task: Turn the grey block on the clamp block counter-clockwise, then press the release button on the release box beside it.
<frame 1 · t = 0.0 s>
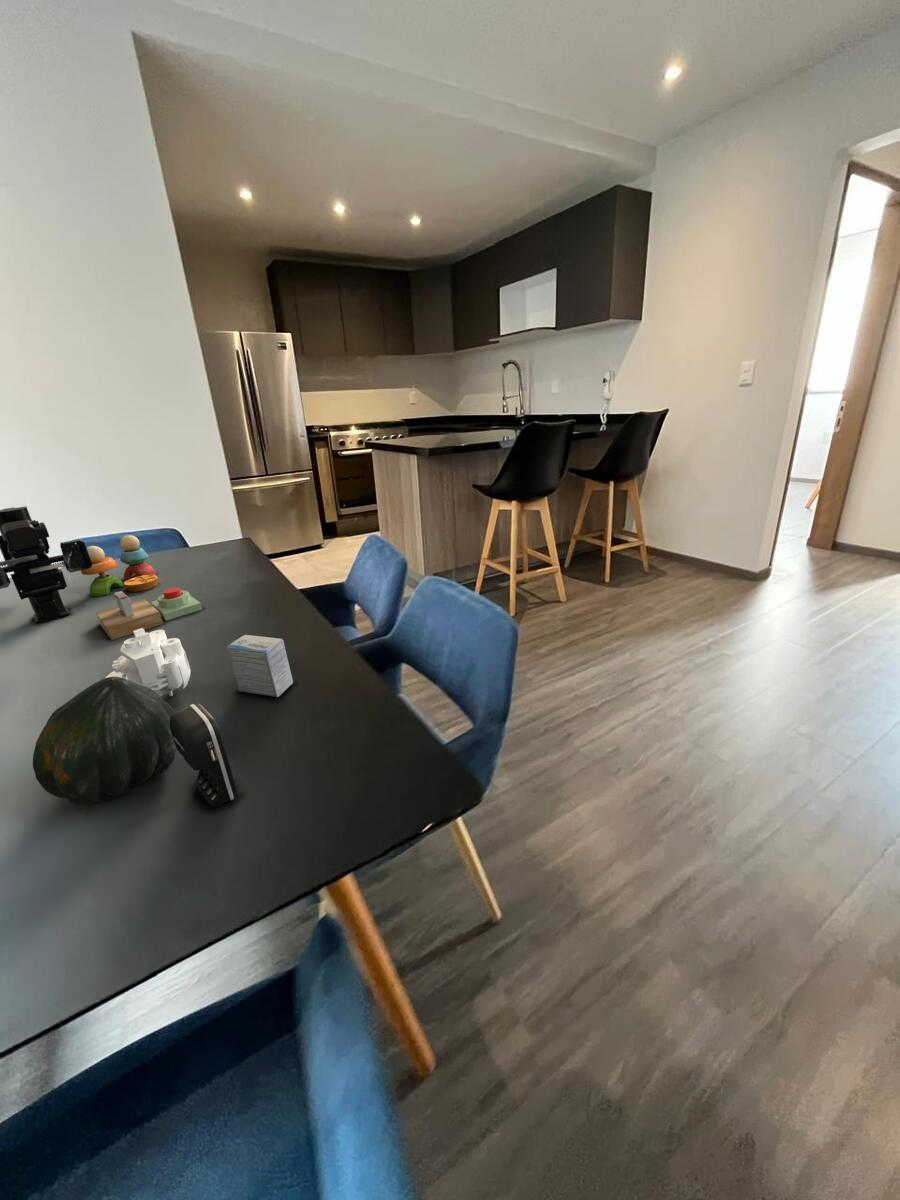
hand: (38, 572, 94), 17 cm above the table, tool horizontal, fingers open, 9 cm apart
grey block: (123, 603, 108), point 5 cm above the table, hinge at 0.0°
release box: (177, 609, 117), on the table
clamp block: (131, 624, 110), on the table
release button: (172, 593, 116), point 4 cm above the table, slide at 0.1 cm
mechanical part: (156, 700, 81), on the table
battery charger: (214, 793, 60), on the table
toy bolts: (135, 583, 137), on the table
squash: (126, 776, 64), on the table
medicine box: (266, 689, 82), on the table
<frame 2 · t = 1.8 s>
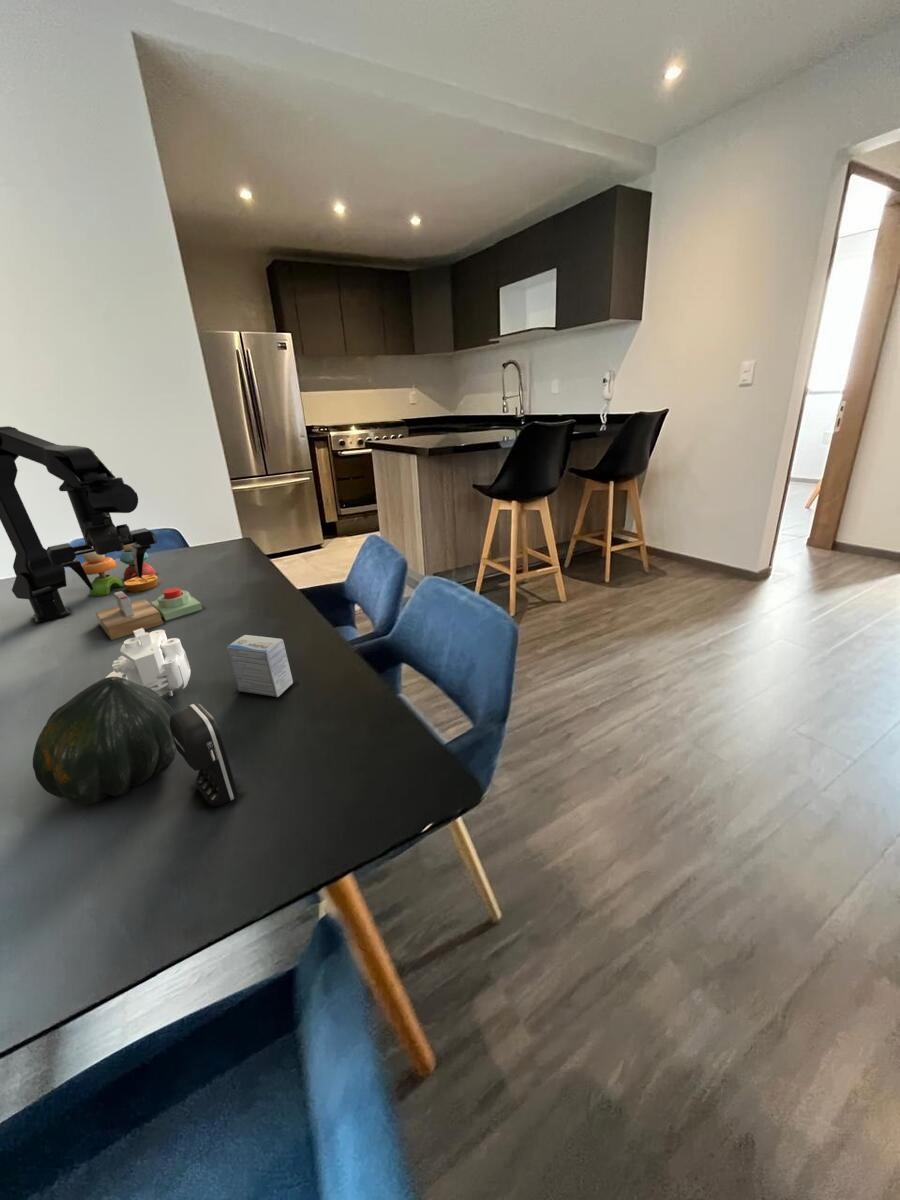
hand: (116, 583, 107), 10 cm above the table, tool pointing down, fingers open, 9 cm apart
nothing on the table moved.
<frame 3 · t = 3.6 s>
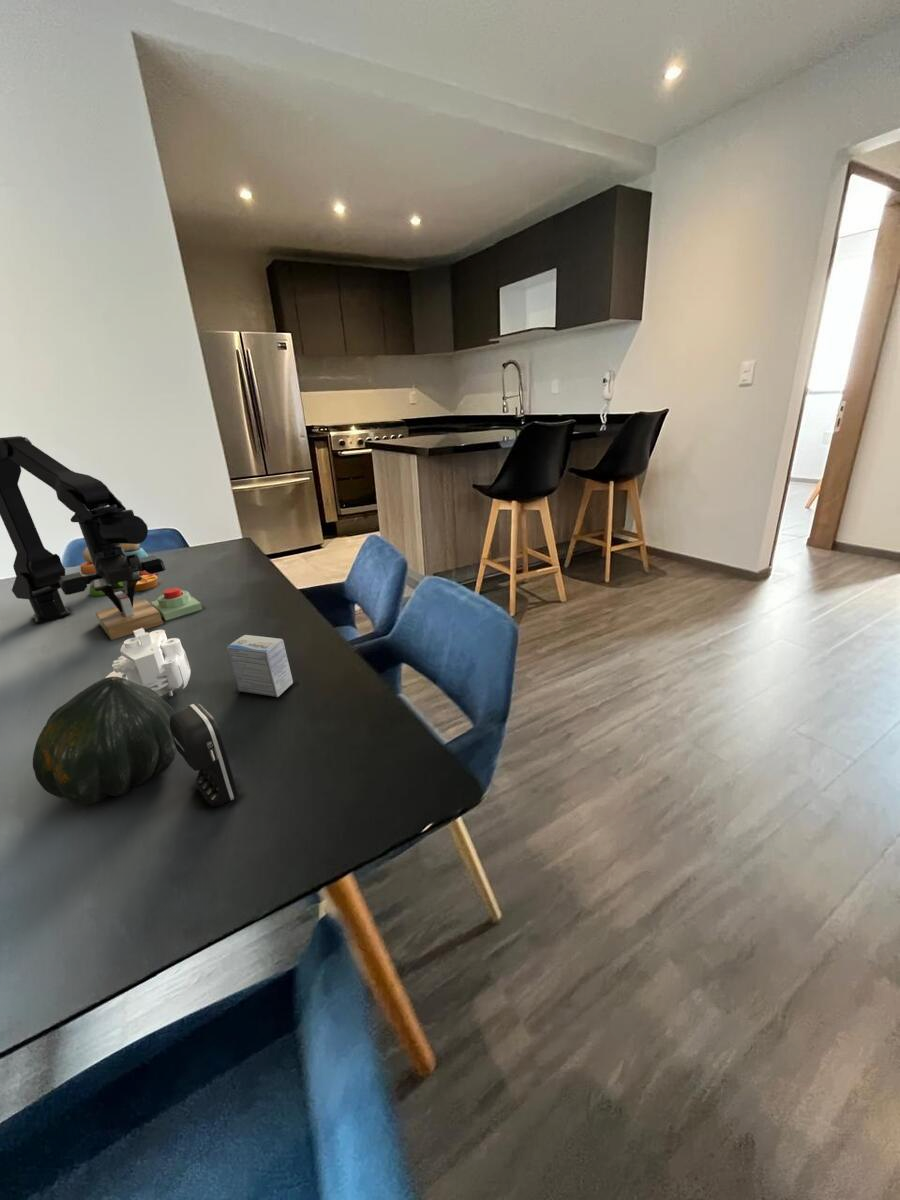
hand: (126, 610, 109), 4 cm above the table, tool pointing down, fingers closed on grey block, 2 cm apart
grey block: (123, 603, 108), point 5 cm above the table, hinge at 0.1°, touching gripper
everything else where it was.
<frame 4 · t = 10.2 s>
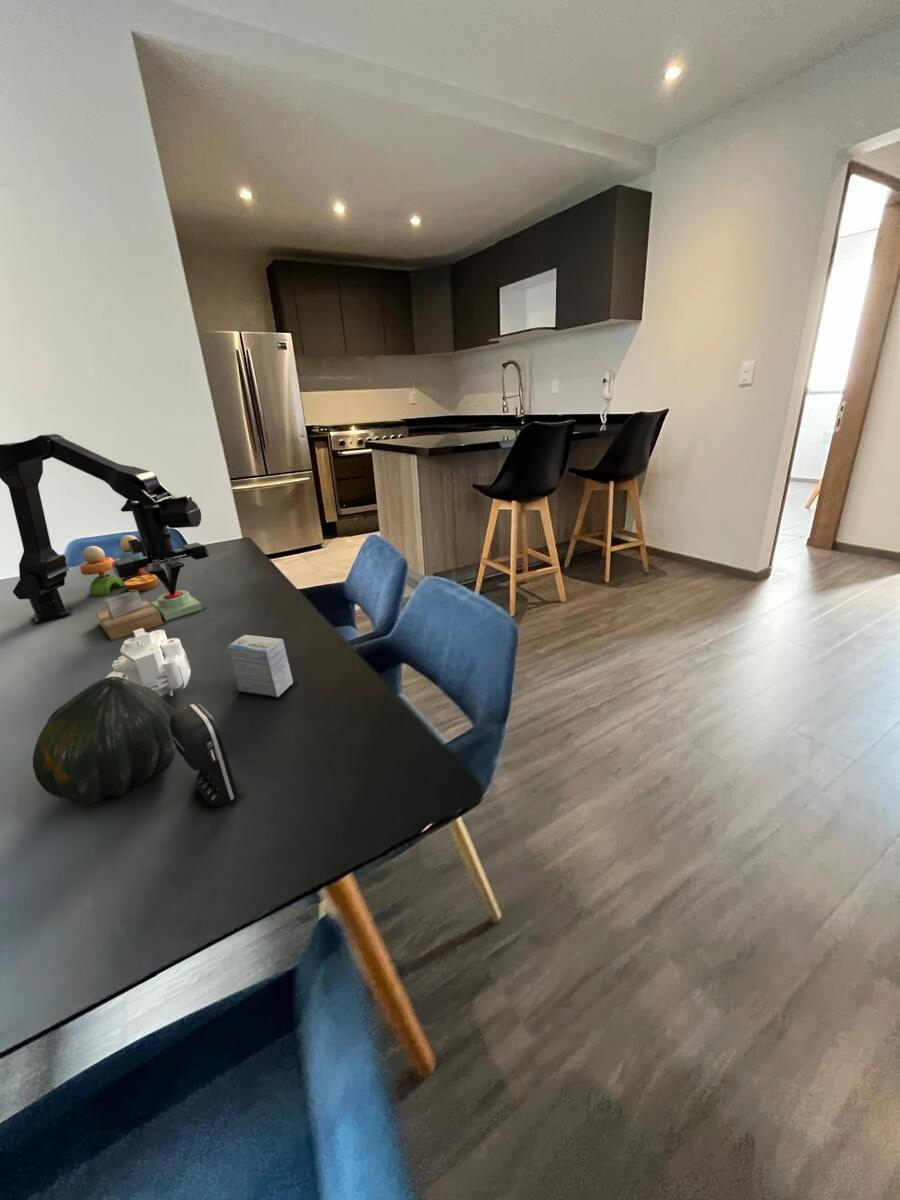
hand: (172, 593, 116), 4 cm above the table, tool pointing down, fingers closed, pressing on release button
grey block: (123, 603, 108), point 5 cm above the table, hinge at 104.1°
release button: (173, 597, 116), point 3 cm above the table, slide at -0.8 cm, touching gripper
everything else where it was.
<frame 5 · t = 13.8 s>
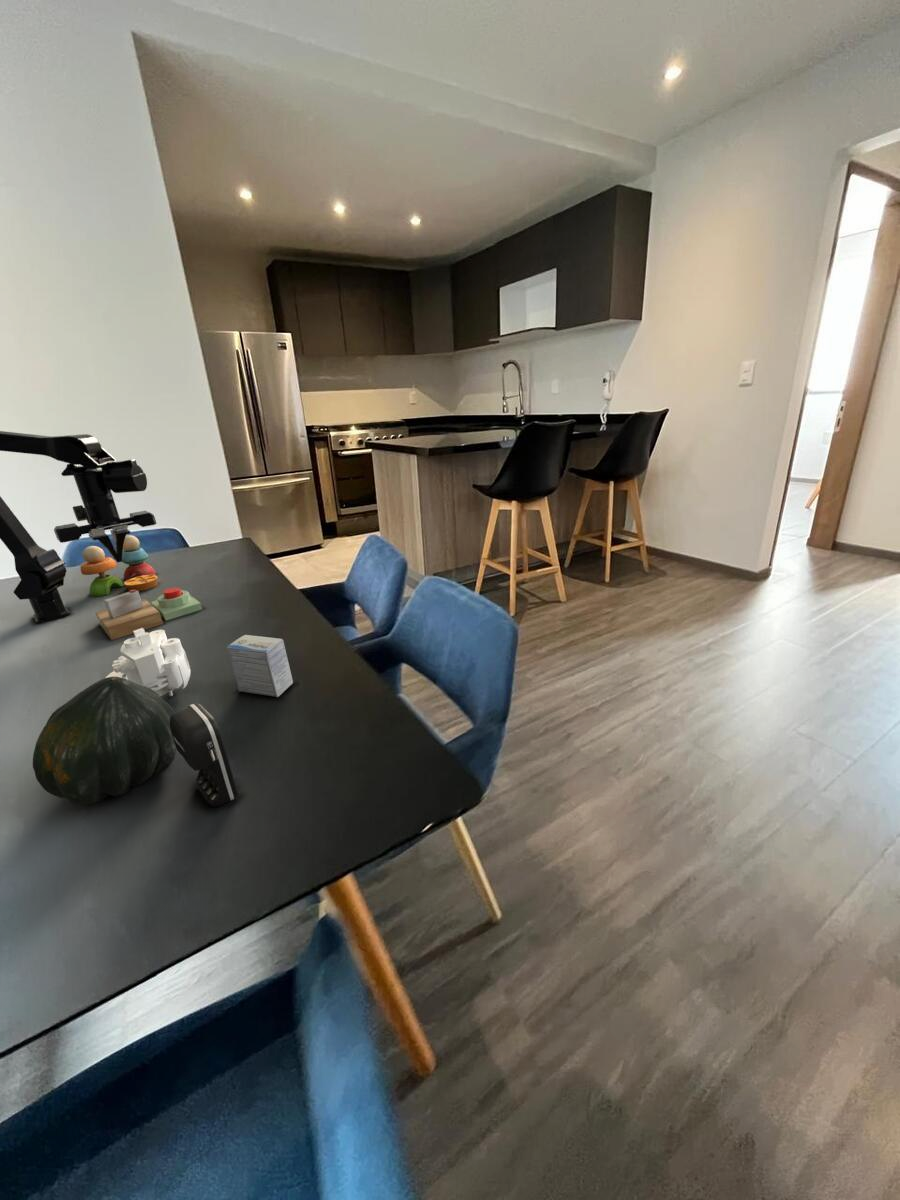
hand: (119, 561, 114), 12 cm above the table, tool pointing down, fingers closed
release button: (172, 593, 116), point 4 cm above the table, slide at 0.1 cm
everything else where it was.
at the end: grey block at +104° (first picture: +0°); release button pushed in 1.1 cm at the most during the clip, back to where it started at the end; release button slide at 0.1 cm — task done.
